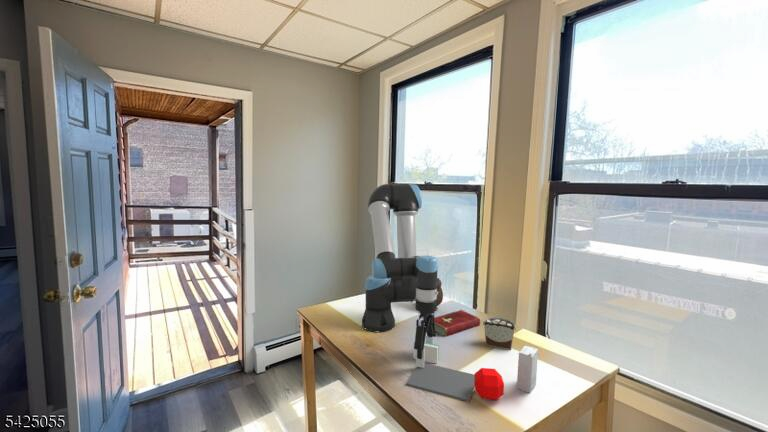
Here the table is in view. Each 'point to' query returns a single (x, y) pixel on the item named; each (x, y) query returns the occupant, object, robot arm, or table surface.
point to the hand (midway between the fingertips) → (424, 360)
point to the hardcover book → (455, 322)
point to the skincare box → (527, 368)
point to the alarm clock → (439, 292)
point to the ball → (489, 384)
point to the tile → (430, 352)
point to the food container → (499, 332)
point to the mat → (443, 381)
